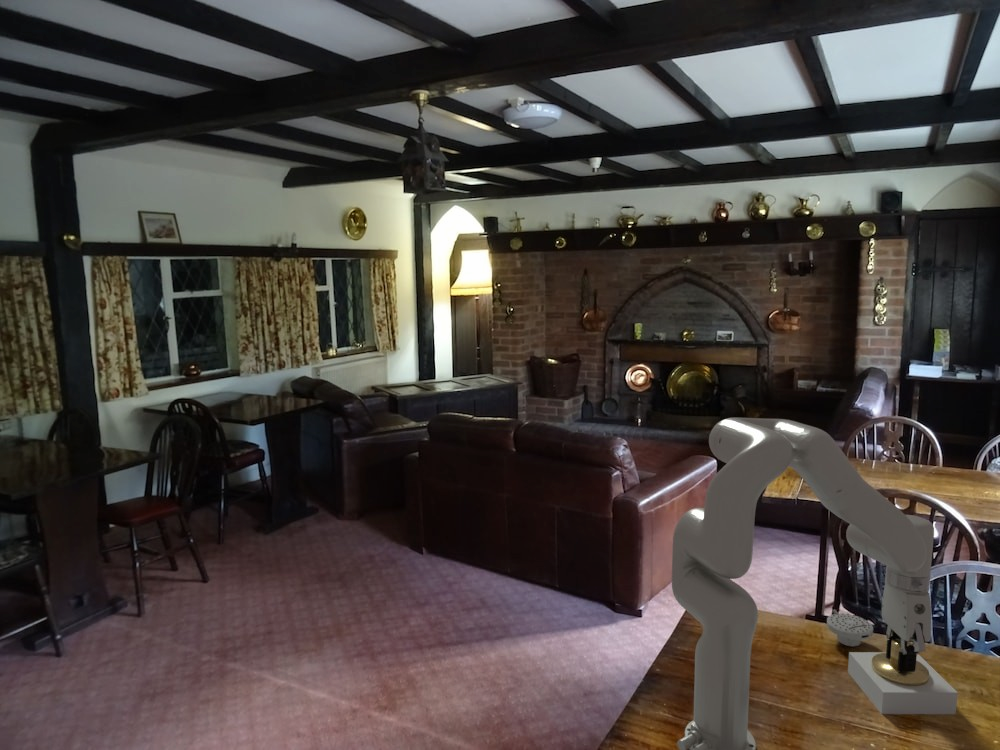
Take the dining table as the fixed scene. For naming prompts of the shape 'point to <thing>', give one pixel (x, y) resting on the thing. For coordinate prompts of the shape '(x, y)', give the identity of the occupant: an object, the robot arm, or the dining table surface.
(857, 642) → the showerhead
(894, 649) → the end cover
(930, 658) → the dining table surface
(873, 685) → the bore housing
